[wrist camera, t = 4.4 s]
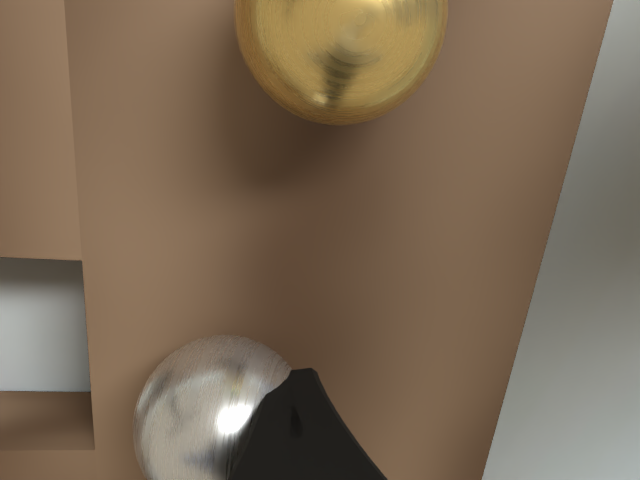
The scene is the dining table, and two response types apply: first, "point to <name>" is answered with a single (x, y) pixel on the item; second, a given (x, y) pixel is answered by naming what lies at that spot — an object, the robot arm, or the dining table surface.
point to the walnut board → (285, 219)
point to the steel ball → (203, 407)
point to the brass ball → (340, 53)
